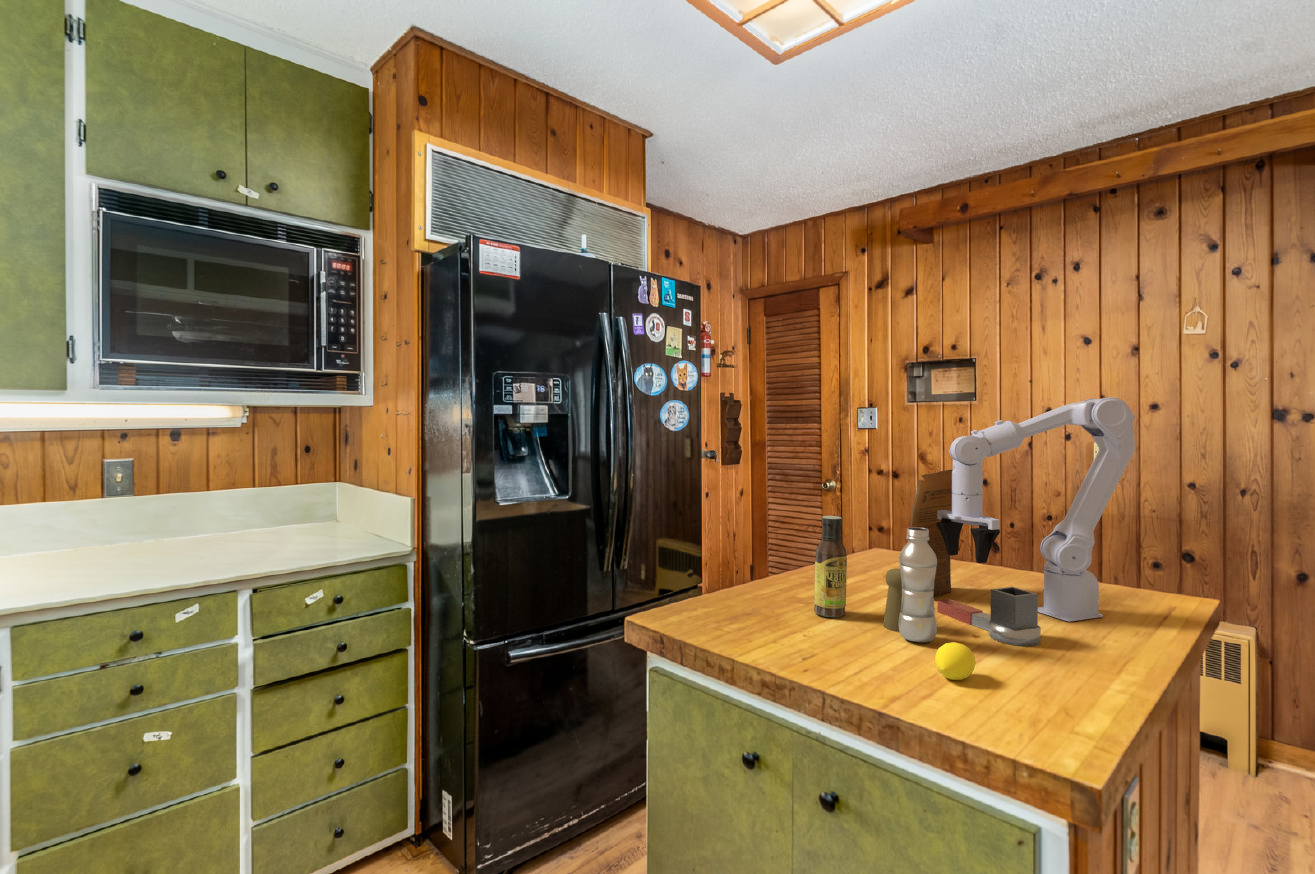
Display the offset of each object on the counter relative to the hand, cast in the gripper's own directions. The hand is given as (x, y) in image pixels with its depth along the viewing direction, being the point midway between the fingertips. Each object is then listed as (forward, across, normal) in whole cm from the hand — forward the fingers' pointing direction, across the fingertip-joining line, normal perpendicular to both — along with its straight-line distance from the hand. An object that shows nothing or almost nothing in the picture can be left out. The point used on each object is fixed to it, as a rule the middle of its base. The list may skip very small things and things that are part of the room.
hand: (966, 558), depth 129 cm
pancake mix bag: (+11, -11, +1) cm, 15 cm away
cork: (+11, +5, -21) cm, 24 cm away
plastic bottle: (+11, +12, -23) cm, 28 cm away
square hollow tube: (+8, +17, -6) cm, 20 cm away
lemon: (+11, +27, -29) cm, 41 cm away
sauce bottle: (+11, -6, -29) cm, 31 cm away
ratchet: (+10, +10, -6) cm, 16 cm away
